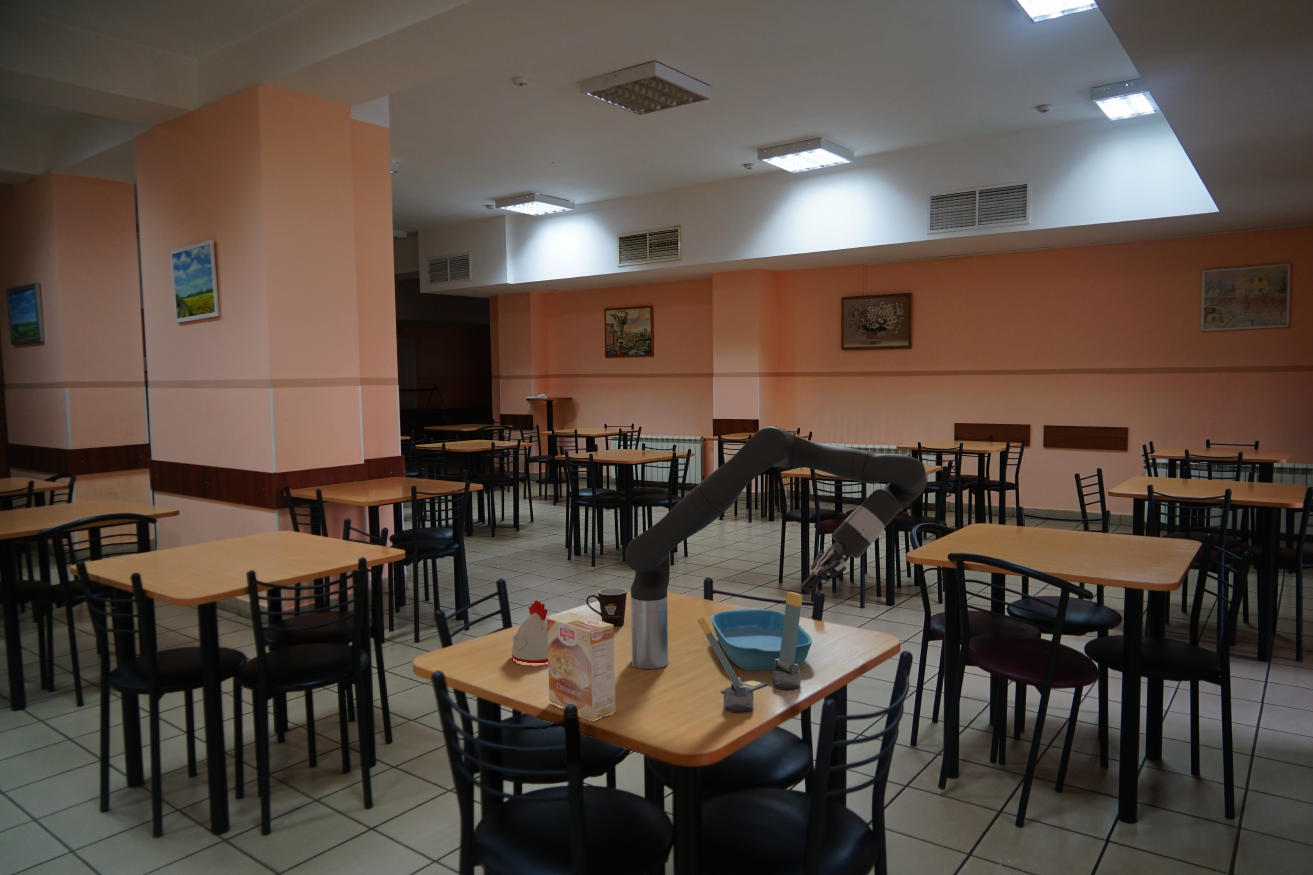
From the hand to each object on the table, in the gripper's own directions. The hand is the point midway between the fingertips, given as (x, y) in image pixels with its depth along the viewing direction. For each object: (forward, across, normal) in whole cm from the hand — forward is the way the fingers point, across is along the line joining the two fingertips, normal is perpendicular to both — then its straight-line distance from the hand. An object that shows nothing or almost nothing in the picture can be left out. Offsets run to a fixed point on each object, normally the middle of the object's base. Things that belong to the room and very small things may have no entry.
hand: (804, 589), depth 172 cm
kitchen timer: (+60, -41, -25) cm, 77 cm away
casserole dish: (+20, -36, +16) cm, 44 cm away
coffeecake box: (+52, -4, -17) cm, 55 cm away
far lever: (+15, -11, +13) cm, 23 cm away
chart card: (+26, -11, +10) cm, 30 cm away
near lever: (+25, 0, +4) cm, 25 cm away
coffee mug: (+46, -69, -11) cm, 84 cm away
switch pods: (+24, -6, +12) cm, 27 cm away
